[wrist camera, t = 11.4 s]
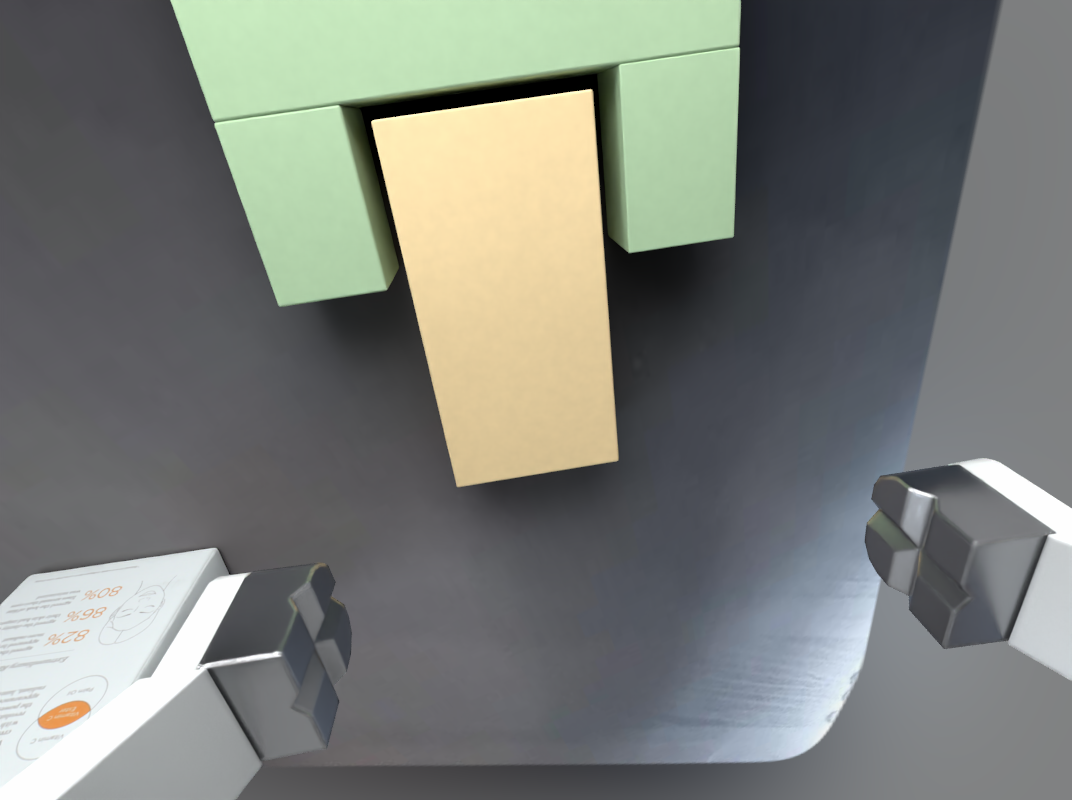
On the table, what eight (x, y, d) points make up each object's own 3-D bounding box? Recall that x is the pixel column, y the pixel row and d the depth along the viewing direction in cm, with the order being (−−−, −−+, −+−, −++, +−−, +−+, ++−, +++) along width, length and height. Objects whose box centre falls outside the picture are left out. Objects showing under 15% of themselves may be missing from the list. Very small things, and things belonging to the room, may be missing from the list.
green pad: (701, -258, 14) (754, -347, 11) (699, 222, 20) (734, 237, 17) (152, -189, 14) (74, -265, 11) (305, 282, 19) (278, 307, 16)
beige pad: (575, 94, 17) (593, 89, 15) (602, 422, 23) (619, 461, 20) (386, 121, 17) (369, 120, 15) (458, 445, 23) (457, 488, 20)
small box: (89, 659, 26) (-131, 963, 16) (28, 569, 23) (-274, 869, 14) (263, 633, 26) (144, 917, 17) (221, 542, 24) (54, 816, 14)
